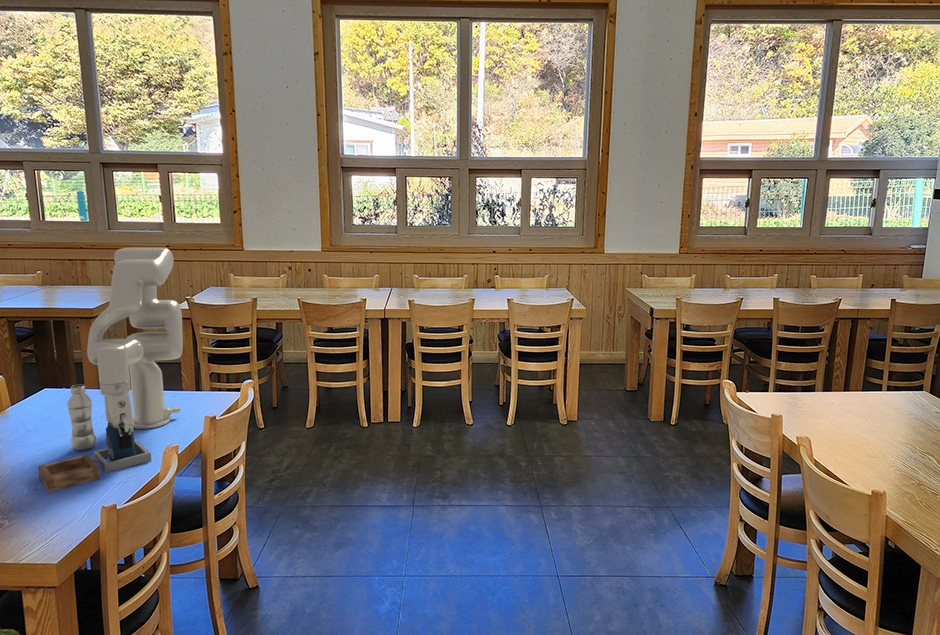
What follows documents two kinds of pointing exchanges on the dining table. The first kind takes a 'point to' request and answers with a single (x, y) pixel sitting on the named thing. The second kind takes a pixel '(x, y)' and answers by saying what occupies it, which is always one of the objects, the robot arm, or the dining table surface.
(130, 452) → the soda can
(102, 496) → the dining table surface
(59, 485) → the walnut holder
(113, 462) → the grey square frame
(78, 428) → the pale grey bottle
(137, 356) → the robot arm
